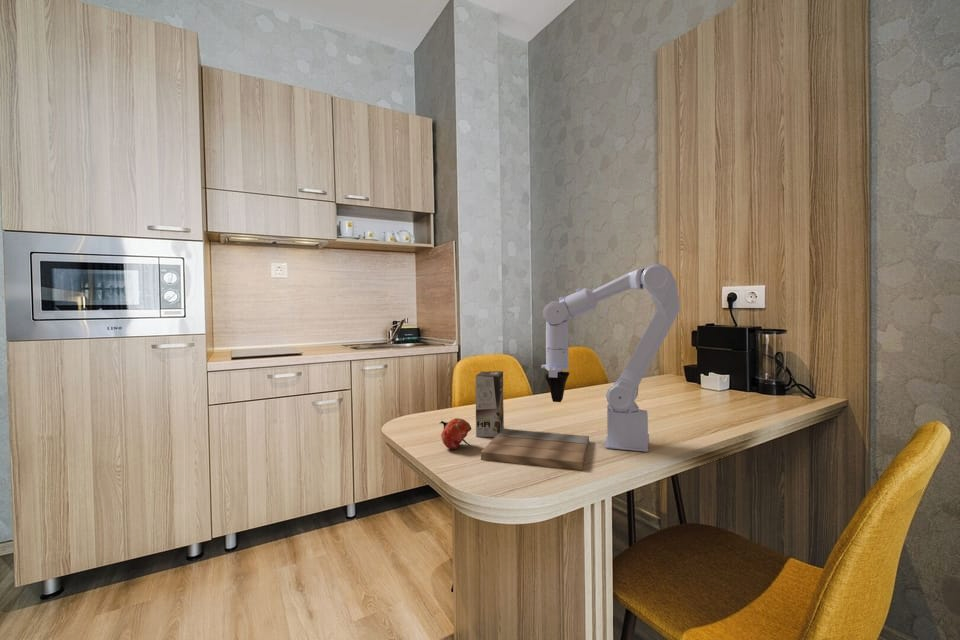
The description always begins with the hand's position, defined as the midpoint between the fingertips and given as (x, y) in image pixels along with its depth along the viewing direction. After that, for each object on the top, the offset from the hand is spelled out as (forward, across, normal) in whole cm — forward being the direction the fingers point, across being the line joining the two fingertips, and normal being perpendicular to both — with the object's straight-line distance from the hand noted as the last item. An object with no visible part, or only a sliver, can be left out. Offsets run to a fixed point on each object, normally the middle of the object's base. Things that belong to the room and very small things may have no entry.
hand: (557, 400), depth 110 cm
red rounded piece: (+10, +15, -22) cm, 28 cm away
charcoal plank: (+9, +5, -3) cm, 11 cm away
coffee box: (+10, +1, -18) cm, 20 cm away
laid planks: (+9, +15, -3) cm, 18 cm away
